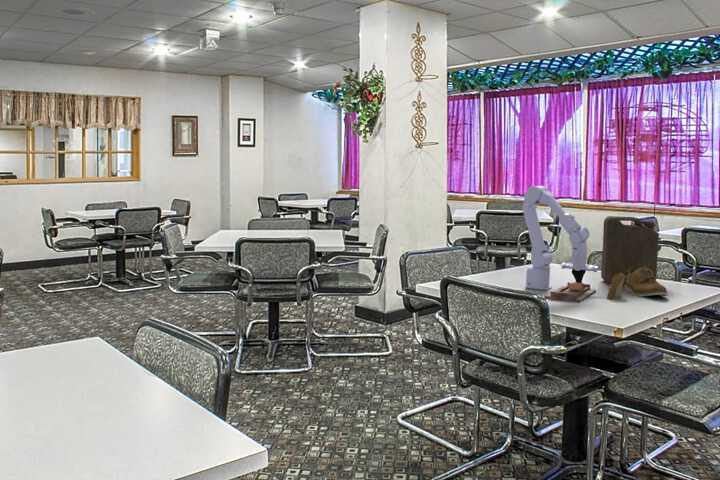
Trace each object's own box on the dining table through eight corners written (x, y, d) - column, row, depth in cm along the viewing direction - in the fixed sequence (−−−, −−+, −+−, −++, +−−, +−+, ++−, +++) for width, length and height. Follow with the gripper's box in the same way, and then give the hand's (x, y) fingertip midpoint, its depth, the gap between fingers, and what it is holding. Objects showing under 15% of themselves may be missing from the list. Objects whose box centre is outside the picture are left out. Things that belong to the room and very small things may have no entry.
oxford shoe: (616, 287, 291) (618, 262, 289) (639, 288, 291) (641, 262, 290) (648, 300, 263) (649, 272, 262) (672, 300, 263) (675, 272, 262)
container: (604, 284, 298) (607, 217, 295) (599, 280, 308) (602, 215, 305) (657, 285, 295) (661, 218, 292) (650, 281, 305) (654, 216, 301)
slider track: (544, 298, 265) (544, 290, 264) (562, 288, 287) (562, 281, 286) (580, 302, 257) (580, 294, 257) (595, 291, 279) (596, 284, 279)
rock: (615, 295, 261) (634, 289, 265) (604, 276, 264) (623, 271, 268) (600, 306, 269) (618, 301, 273) (589, 288, 273) (607, 283, 277)
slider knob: (568, 289, 278) (568, 283, 278) (571, 287, 281) (571, 281, 281) (580, 290, 275) (581, 284, 275) (583, 288, 279) (583, 282, 279)
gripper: (559, 257, 279) (559, 286, 284) (594, 261, 271) (594, 291, 276) (563, 251, 284) (564, 280, 289) (598, 254, 277) (598, 284, 282)
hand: (579, 285), depth 283 cm, fingers closed, pressing on slider track
